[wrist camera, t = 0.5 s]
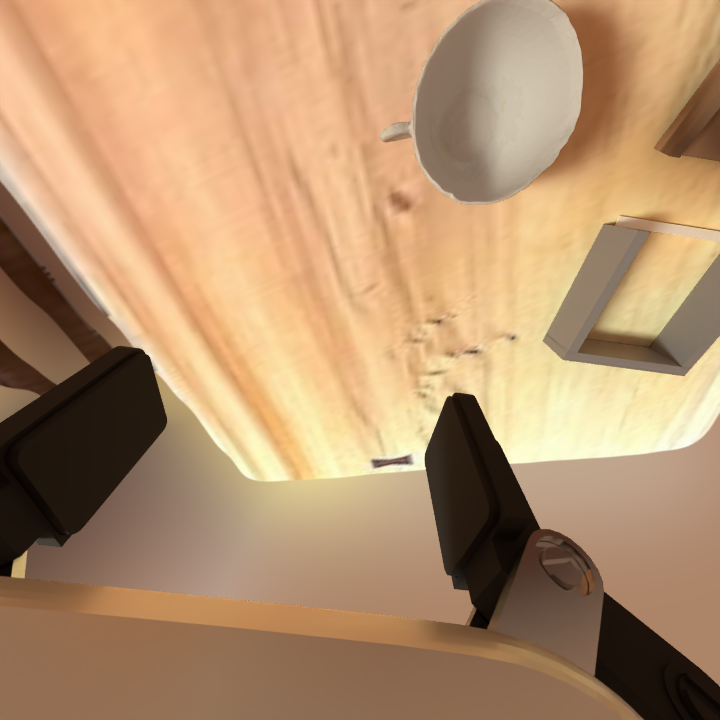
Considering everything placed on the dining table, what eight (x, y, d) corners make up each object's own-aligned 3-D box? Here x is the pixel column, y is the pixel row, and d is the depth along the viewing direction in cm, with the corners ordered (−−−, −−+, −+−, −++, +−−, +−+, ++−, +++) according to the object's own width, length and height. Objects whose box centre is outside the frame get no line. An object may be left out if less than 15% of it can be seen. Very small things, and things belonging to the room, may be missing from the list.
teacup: (548, 25, 25) (613, -32, 18) (522, 192, 32) (563, 195, 25) (373, 54, 26) (374, 11, 20) (383, 209, 33) (385, 216, 26)
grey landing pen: (609, 214, 32) (645, 219, 28) (744, 235, 33) (800, 243, 29) (542, 340, 41) (562, 359, 36) (652, 355, 41) (684, 376, 37)
